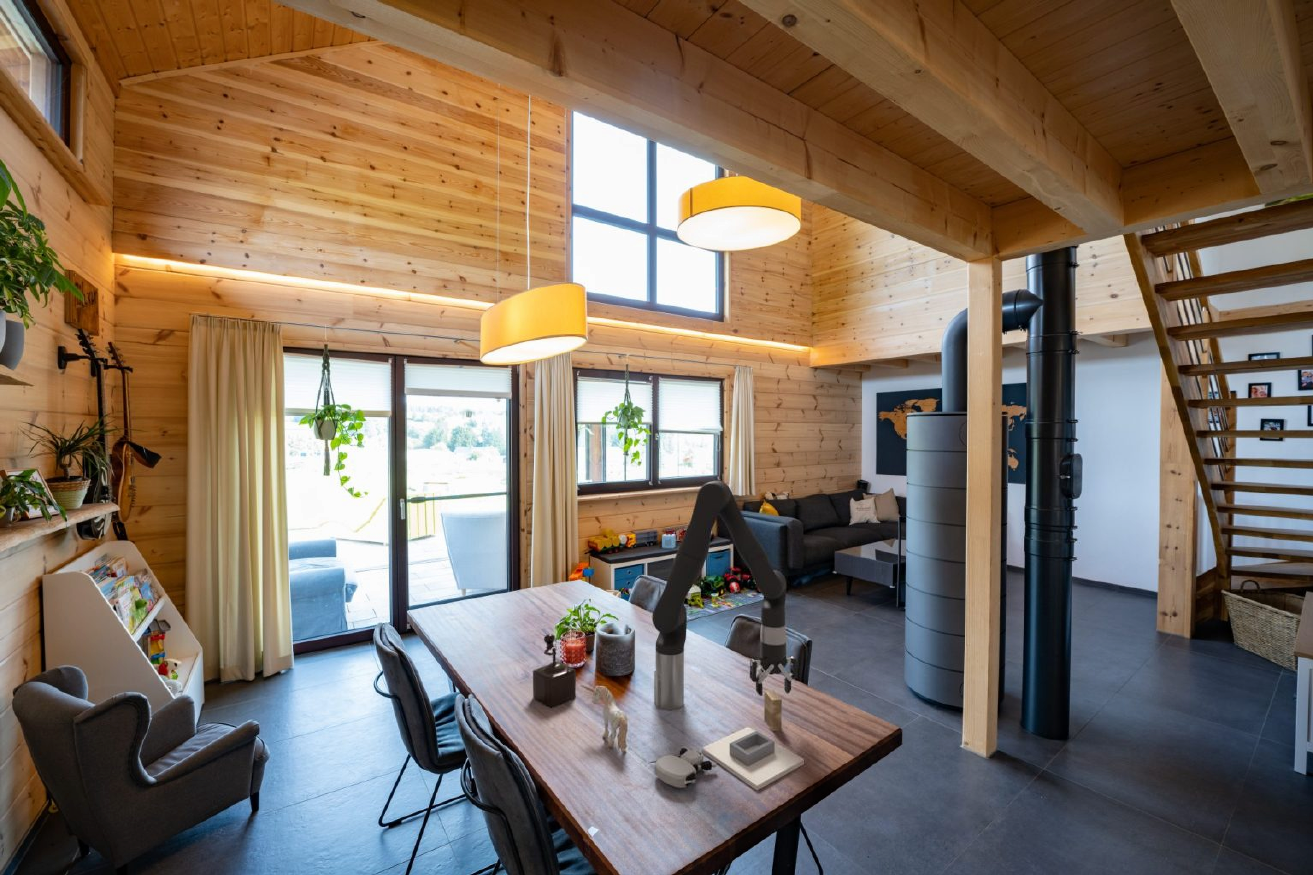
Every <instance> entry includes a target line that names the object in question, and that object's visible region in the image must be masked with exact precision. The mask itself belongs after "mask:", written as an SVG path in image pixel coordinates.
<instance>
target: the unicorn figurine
mask: <svg viewBox="0 0 1313 875" xmlns="http://www.w3.org/2000/svg"><path fill="white" fill-rule="evenodd" d="M580 687H581V688H584V689H585V690H588V691H590V692H591V693H593V696H592V700H591V702H592V703H593V705H596V704H598V702H599V699H601V698H602V699H603V702H604V705H603V709H602V715H603V719H604V720H603V721H604V733H603V735H602V738H603V739H605V738H606V740H608V739H609V740H608V748H609V749H612V748H613V747H614V740H615V739H617V749H618V750H621V751H623V752H625V751H626V750H627V749H626V748H627V746H628V744H627V742H626V741H627V740H626V739H627V733H628V716H627V714H626V713H625V712H624V711H622V710H621V709H620V708H618V706H617V702H616V700H615V697H614V694H613V693H612V692H611V691H610V690H609V689H608V688H607V687H606V686H604V685H595V687H594V689H593V688H591V687H588V686H584V685H583V684H580ZM609 723H610V727H611V737H610V738H609V734H610V731H609V730H608V726H609ZM617 729H618V730H619V731H618V733H617ZM616 734H617V738H616Z"/></svg>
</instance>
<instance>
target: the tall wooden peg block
mask: <svg viewBox="0 0 1313 875" xmlns="http://www.w3.org/2000/svg"><path fill="white" fill-rule="evenodd" d="M782 700H783V699H782V698H781V696H780V695H779V694H778V693H777V692H776V691H775V690H774V689H770V690H769V689H768V690H764V710H763V711H764V714H763V716H764V718H763V719H764V722H765V723H766V725H767V727H769V729H770V730H771V731H772V732H774V731H775V732H776V731H782V730H783V727H782V726H783V725H782V723H783V722H782V718H783V716H782V712H783V709H782V708H783V701H782Z"/></svg>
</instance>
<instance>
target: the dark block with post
mask: <svg viewBox="0 0 1313 875" xmlns="http://www.w3.org/2000/svg"><path fill="white" fill-rule="evenodd" d="M555 640H556V636H555V635H554V634H553V633H547V634H546V635H545V636H543V641H544V642H545V644H546V648H545V649H544V651H543V654H544V655H545V656H552V662H550V663H549V664H546V665H544V666H541V667H538V668H536V669H534V670H533V671H532V692H533V693H532V696H533V697H532V698H533V699H534V700H535V701H537V702H538V703H540V704H541V705H543V706H545V707H547V708H549V709H553V708H555V707H558V706H561V705H563V704H565V703H568V702H570V701H572V700H574V699H576V698H577V696H576V695H577V694H576V692H577V691H576V688H577V687H576V686H577V682H576V681H577V676H576V674H577V671H576V669H575V668H573V667H571V666H569V664H568V663H565V662H564V660H563V659H562V660H561V662H560V661H559V660H558V661H556V658H557V657H556V655H557V649H556V647H555V645H554V641H555ZM551 650H552V652H549V651H551Z"/></svg>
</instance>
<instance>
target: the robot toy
mask: <svg viewBox="0 0 1313 875" xmlns="http://www.w3.org/2000/svg"><path fill="white" fill-rule="evenodd" d="M704 755H705V754H704V753H702V752H699V751H698V750H693V749H689V748H688V747H681V748H680V750H679V754H678V755H677V756H676V755H671V754H666V755H664V756H662V757H660V758H658V759H656V760H651V761H648V762H647V763H648V764H651V763H652V764H653V763H654V771H653V772H654V774H655V776H656V777H658V779H659V780H660V781H662V782H664V784H667V785H670V786H671V787H675V788H679V789H685V788H687V787H689V786H691V785H692V784H694V783H696V780H697V772H699V771H700V770H703V771H705V772H707V771H711V770H713V769H712V768H714V769H715V768H716V767H717V766H718V763H717V762H715V761H714V760H713V761H711V760H708V759H707V760H704Z"/></svg>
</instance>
